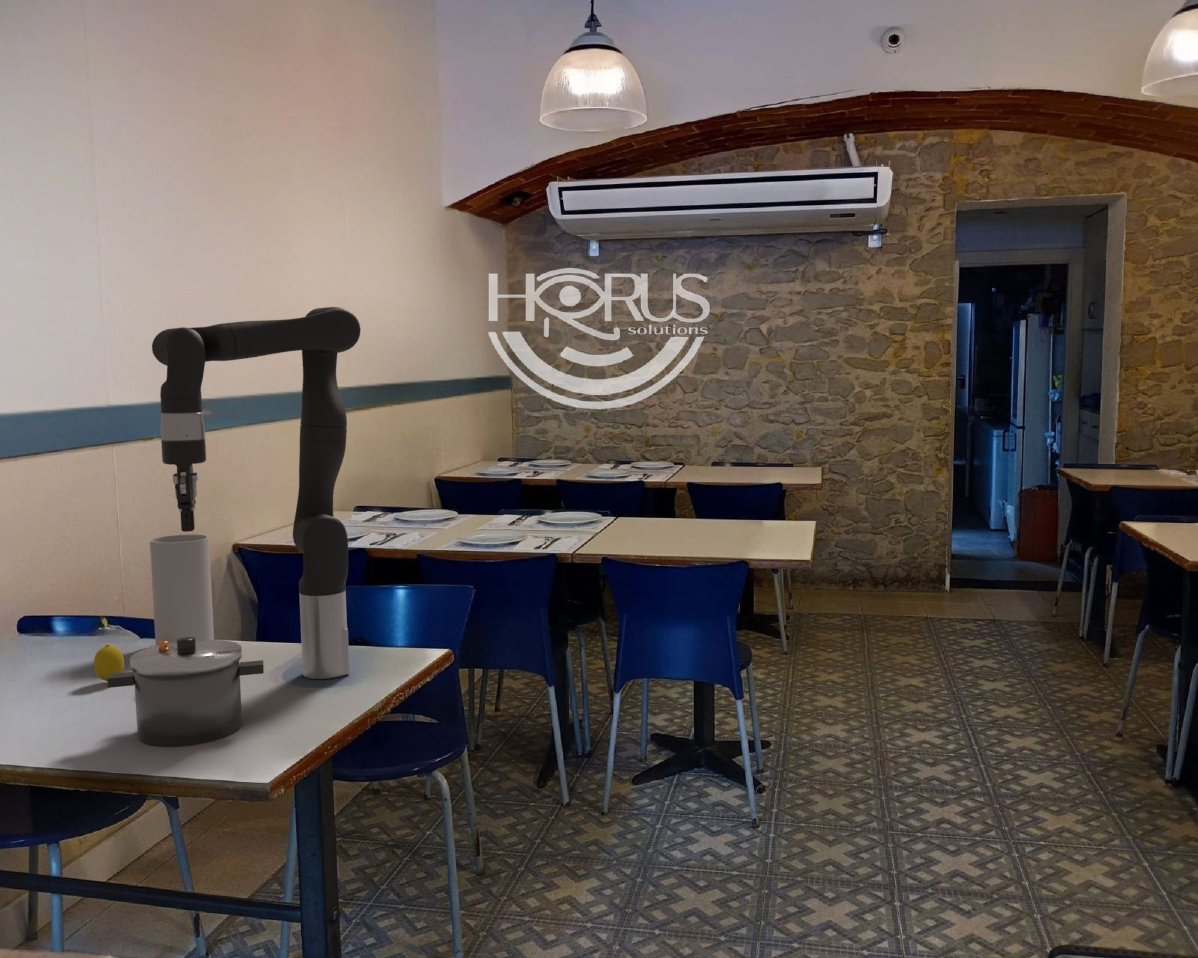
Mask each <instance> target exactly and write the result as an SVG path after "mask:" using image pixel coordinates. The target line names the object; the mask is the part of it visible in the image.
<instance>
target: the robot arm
mask: <svg viewBox="0 0 1198 958" xmlns="http://www.w3.org/2000/svg"><path fill="white" fill-rule="evenodd" d="M360 337H361V325H360V322H359V318H357V317H356V315H355V314H354V313H353V312H352V311H350V310H349V309H346V308H344V307H339V306H327V307H326V306H325V307H318V308H317V307H316V308H313V309H312V310H310V311H309V312H308V313H306V315H305V316H303V317H296V318H287V319H270V320H269V319H264V320H245V321H244V320H243V321H233V322H232V321H231V322H225V323H224V322H223V323H217V324H213V325H212V324H211V325H209V326H197V327H184V326H182V327H175V328H173V327H172V328H167V329H164V330H161V331H159V333H157V335H155V337H154V338H153V341H152V343H151V351H152V354H153V356H154V357H155V359H156V360H157V361H158V362H159V363H161V364H162V365H163V366H166V380H165V381H164V382H163V383H162V384H161V386H160V391H159V392H160V393H159V395H160V396H159V397H160V412H161V417H160V418H161V419H160V439H161V441H160V442H161V443H160V445H161V457H162V460H161V461H162V463H163V464H164V465H168V466H169V465H170V466H171V465H175V466H176V472H174V474H172V483H173V484H174V490H175V491H174V492H175V495H174V496H175V498H176V501H177V508H178V510H179V512H180V527H181V529H180V530H181V532H184V533H185V532H186V533H187V532H193V531H194V530H195V529H196V528H195V527H196V525H195V508H196V503H197V501H196V497H197V495H198V492H197V491H198V490H197V482H198V477H199V476H198V472H194V467H193V466H194V464H195V465H196V464H203V463H206V461H207V450H206V432H205V431H206V430H205V428H206V427H205V422H204V416H203V415H204V414H203V397H202V384H203V379H204V373H205V372H204V371H205V366H206V363H207V362H229V361H230V362H231V361H237V360H243V359H244V360H245V359H252V358H259V357H264V356H268V355H269V356H270V355H275V354H281V353H288V352H296V351H301V359H302V360H301V361H302V387H301V389H302V391H301V414H300V425H299V458H298V459H299V460H298V463H299V464H298V493H297V494H298V495H297V502H296V506H295V508H296V509H295V514H294V519H293V520H294V521H293V527H292V540H293V543H294V545H295V547H296V549H297V550H298V551H299V553H301V554H303V557H302V559H303V560H302V561H303V570H302V571H303V572H302V573H303V574H302V576H301V578H300V579H299V581H298V591H299V592H298V593H299V613H300V614H299V615H300V639H301V640H300V641H301V642H300V643H301V645H300V646H301V668H302V676H303V677H305V678H307V679H311V680H323V679H325V680H326V679H332V678H333V679H334V678H338V677H342V676H346V675H348V676H349V675H350V674H351V673H350V659H349V658H350V652H349V649H350V648H349V629H348V622H347V621H348V620H347V596H346V594H347V593H346V589H347V587H346V582H347V579H348V576H349V575H348V574H349V540H348V539H349V538H348V537H349V536H348V533H347V532H348V531H347V528H346V526H345V525H344V523H343V522H342V521H341V520H340V519H339V518H337V517H334V494H335V493H334V490H335V486H336V483H337V479H338V475H339V472H340V471H341V468H342V465H343V461H344V457H345V454H346V447H347V433H348V432H347V429H348V428H347V427H348V419H347V414H346V413H347V412H346V409H345V405H344V402H343V398H342V394H341V391H340V389H339V385H338V381H337V380H338V379H337V365H338V364H337V362H338V354H339V353H345V352H346V351H348V350H351V349H352V348H353V347H355V345H356V344H357V342H358V341H359V339H360Z"/></svg>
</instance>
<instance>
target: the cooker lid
mask: <svg viewBox="0 0 1198 958" xmlns="http://www.w3.org/2000/svg"><path fill="white" fill-rule="evenodd" d="M242 657H243V649H242V645H241V644H239V643H237V642H234V641H230V640H225V639H223V640H222V639H214V640H195V638H194V637H184V638H179V639H177V642H174V643H168V641H159V642H158V646H156V645H155V646H151V647H150V646H149V647H147V648H144V649H142V650H139V651H137V652H135V653H133V654H132V655H131V656H130V658H129V667H130V670H131V672H135V673H138V674H142V675H149V676H179V675H189V674H197V673H203V672H208V671H213V670H217V669H220V668H224V667H227V666H230V665H232V664H234V663H236V662H238V661H239V662H240V660H241V659H242Z"/></svg>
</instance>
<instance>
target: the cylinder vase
mask: <svg viewBox="0 0 1198 958" xmlns="http://www.w3.org/2000/svg"><path fill="white" fill-rule="evenodd" d="M149 548H150V549H149V550H150V552H149V553H150V566H151V567H150V569H151V585H152V587H151V588H152V601H153V603H152V604H153V606H152V607H153V621H154V636H155V639H154V640H155V646H158V642H159V641H168V643H174V642H177V639H179V638H184V637H194V638H195V640H215V639H214V638H215V633H214V613H213V594H212V575H211V572H212V571H211V556H210V555H211V554H210V536H209V535H206V534H188V533H187V534H175V535H174V534H172V535H165V536H158V537H154V538H151V539H149Z"/></svg>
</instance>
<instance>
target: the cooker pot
mask: <svg viewBox="0 0 1198 958" xmlns="http://www.w3.org/2000/svg"><path fill="white" fill-rule="evenodd" d="M264 667H265V664H264V660H263V659H262V660H253V661H240V660H239V661H238V662H236V663H234V664H232V665H230V666H227V667H224V668H220V669H217V670H213V671H208V672H203V673H197V674H189V675H179V676H149V675H142V674H138V673H135V672H133V671H127V672H122V673H113V674H110V675H109V677H108V682H107V688H108V689H110V688H119V687H132V686H134V695H135V712H136V713H135V714H136V715H135V716H136V729H137V731H136V732H137V739H138V741H140V742H141V743H142V744H145V745H148V746H152V747H153V746H154V747H166V748H167V747H168V748H170V747H171V748H172V747H173V748H178V747H188V746H195V745H201V744H206V743H210V742H214V741H218V740H221V739H225V738H226V737H229V736H231V735H233V734H235V733H236V732H238V730H240V729H241V728H242V726H243V715H242V713H243V712H242V711H243V710H242V694H241V693H242V691H241V688H242V687H241V676H252V675H263V674H264V670H265V669H264Z"/></svg>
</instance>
